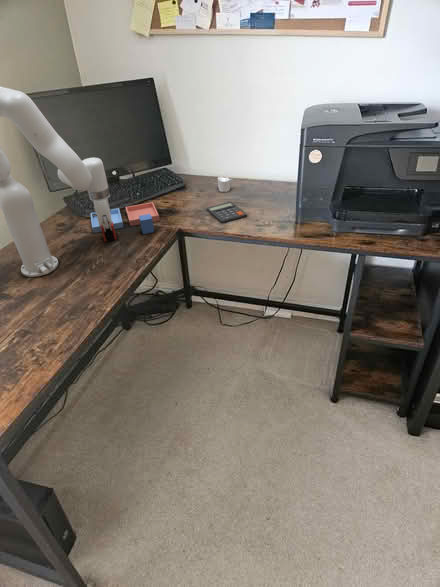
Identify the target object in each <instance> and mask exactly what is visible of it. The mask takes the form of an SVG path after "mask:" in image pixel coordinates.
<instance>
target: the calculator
mask: <svg viewBox="0 0 440 587" xmlns="http://www.w3.org/2000/svg"><path fill="white" fill-rule="evenodd" d="M206 211H208V212H209V214H211V215H212V216H213V217H214V218H215V219H216V220H218V221H219V222H220V223H222V224H223V223H227V222H231V221H234V220H238V219H241V218H245V217H246V218H247V213H246V212H244V211H243V209H241V208H240V207H238V206H237V205H236V204H234V203H233V202H232V201H228V202H227V201H226V202H224V203H219V204H216V205H211V206H208V207H206Z"/></svg>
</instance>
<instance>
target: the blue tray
mask: <svg viewBox="0 0 440 587" xmlns="http://www.w3.org/2000/svg"><path fill="white" fill-rule="evenodd" d="M110 212H111V220H112V221H113V226H114V230H118V229H122V228H124V222H123V218H122V214H121V211H120V208H119V207H118V208H112V209H111V208H110ZM92 214H96V211H95V212H90V221H91V222H90V223H91V229H92V233H93V234H95V233H101V232H102V229H101V226H99V223H98V219H97V216H94V217H93V216H92Z"/></svg>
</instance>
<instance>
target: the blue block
mask: <svg viewBox="0 0 440 587" xmlns="http://www.w3.org/2000/svg"><path fill="white" fill-rule="evenodd" d="M139 220H140V224H139V226H140V230H141V232H142V234H143V235H147V234H152V233H155V227H154V222H153V221H152V217H151V215H150V214H146V215H141V216H139Z"/></svg>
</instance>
